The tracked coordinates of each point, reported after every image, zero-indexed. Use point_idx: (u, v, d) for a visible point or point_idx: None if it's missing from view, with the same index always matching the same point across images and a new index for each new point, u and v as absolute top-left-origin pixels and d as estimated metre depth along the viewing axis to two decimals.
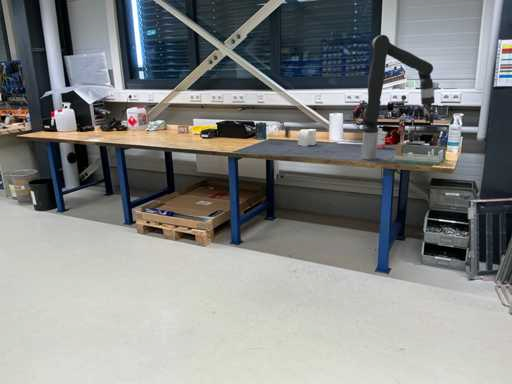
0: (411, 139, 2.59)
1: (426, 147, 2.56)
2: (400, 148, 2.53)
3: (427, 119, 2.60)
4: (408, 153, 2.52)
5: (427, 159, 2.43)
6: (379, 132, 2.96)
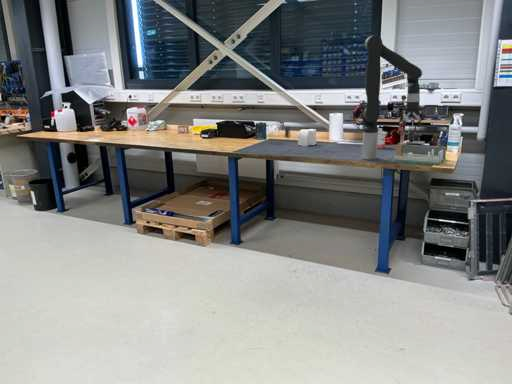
0: (411, 139, 2.59)
1: (426, 147, 2.56)
2: (400, 148, 2.53)
3: (405, 124, 2.60)
4: (408, 153, 2.52)
5: (427, 159, 2.43)
6: (379, 132, 2.96)
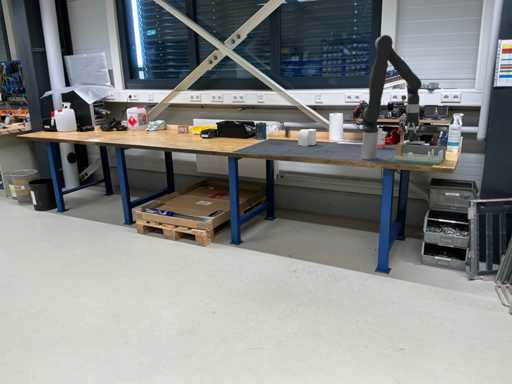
0: (411, 139, 2.59)
1: (426, 147, 2.56)
2: (400, 148, 2.53)
3: None
4: (408, 153, 2.52)
5: (427, 159, 2.43)
6: (379, 132, 2.96)
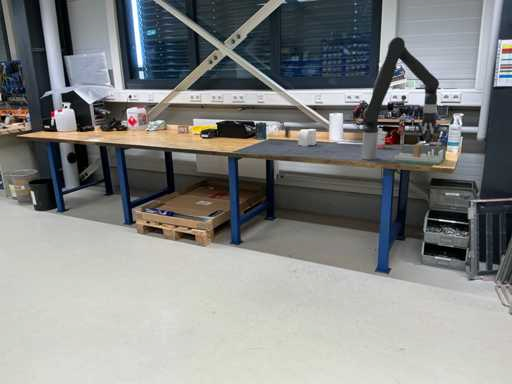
0: (428, 140, 2.54)
1: (426, 147, 2.56)
2: (417, 149, 2.48)
3: (424, 137, 2.56)
4: None
5: (427, 159, 2.43)
6: (379, 132, 2.96)
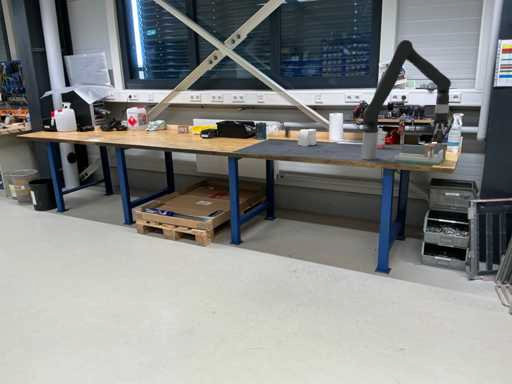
0: (440, 140, 2.50)
1: None
2: (429, 150, 2.44)
3: None
4: (436, 155, 2.43)
5: (427, 159, 2.43)
6: (379, 132, 2.96)
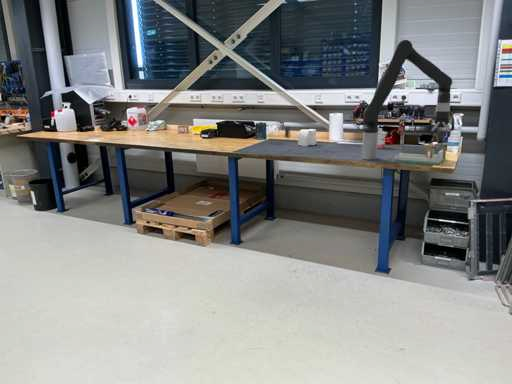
0: (440, 141, 2.50)
1: (426, 147, 2.56)
2: (430, 150, 2.44)
3: (433, 134, 2.52)
4: (435, 155, 2.43)
5: (427, 159, 2.43)
6: (379, 132, 2.96)
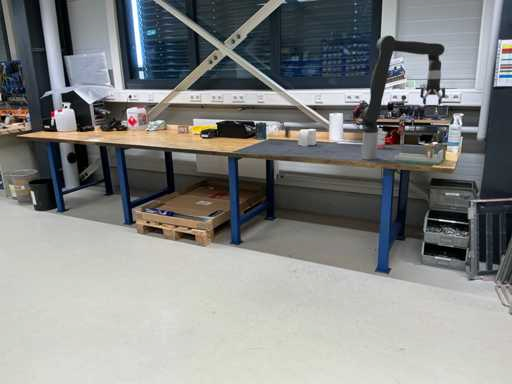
0: (440, 141, 2.50)
1: (426, 147, 2.56)
2: (430, 150, 2.44)
3: (425, 102, 2.60)
4: (436, 155, 2.43)
5: (427, 159, 2.43)
6: (379, 132, 2.96)
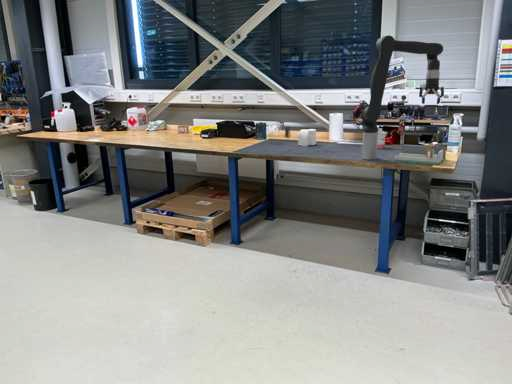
0: (440, 141, 2.50)
1: (426, 147, 2.56)
2: (430, 150, 2.44)
3: (424, 101, 2.61)
4: (436, 155, 2.43)
5: (427, 159, 2.43)
6: (379, 132, 2.96)
